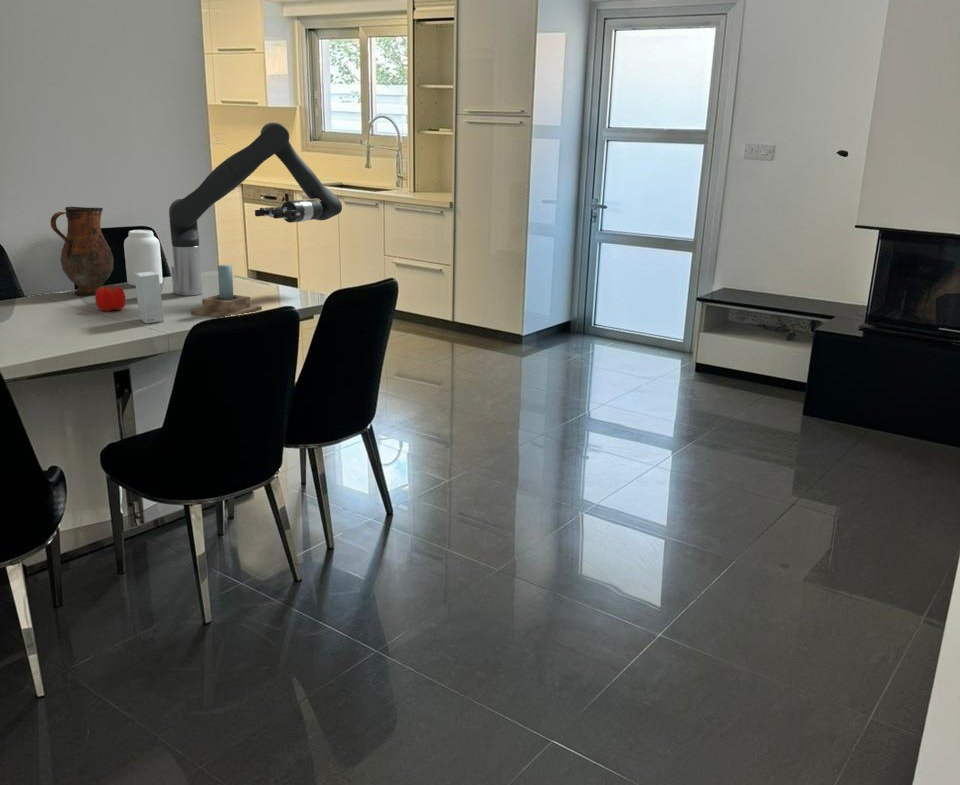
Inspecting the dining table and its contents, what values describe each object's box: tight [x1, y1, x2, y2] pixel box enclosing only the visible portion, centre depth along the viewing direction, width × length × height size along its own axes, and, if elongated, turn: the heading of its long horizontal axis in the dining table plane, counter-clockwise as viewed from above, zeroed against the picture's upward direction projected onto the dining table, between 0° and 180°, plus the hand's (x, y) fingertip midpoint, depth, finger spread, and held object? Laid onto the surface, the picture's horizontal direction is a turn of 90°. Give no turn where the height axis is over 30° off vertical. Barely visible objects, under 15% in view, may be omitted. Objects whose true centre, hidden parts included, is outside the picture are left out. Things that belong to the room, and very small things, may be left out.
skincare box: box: [134, 272, 165, 324], centre depth 264 cm, size 8×6×15 cm
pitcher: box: [50, 206, 115, 297], centre depth 297 cm, size 17×21×30 cm
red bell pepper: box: [94, 286, 126, 312], centre depth 278 cm, size 9×9×8 cm
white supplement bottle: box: [123, 229, 164, 287], centre depth 320 cm, size 12×12×20 cm
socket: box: [190, 294, 263, 318], centre depth 282 cm, size 16×16×4 cm
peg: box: [217, 264, 234, 300], centre depth 280 cm, size 4×4×14 cm
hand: (264, 214), depth 291 cm, fingers open, 8 cm apart
